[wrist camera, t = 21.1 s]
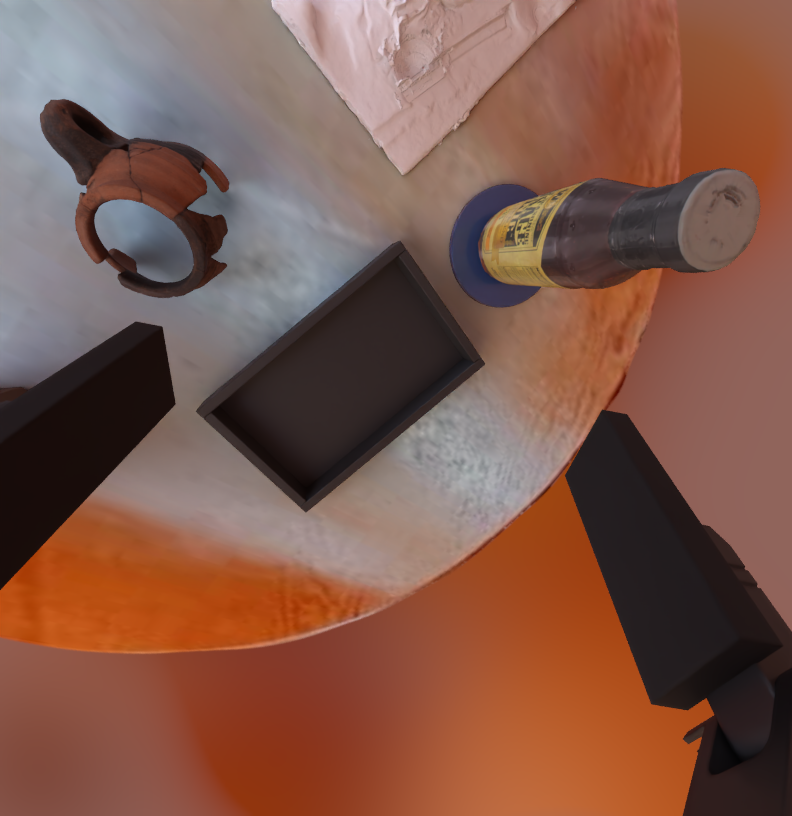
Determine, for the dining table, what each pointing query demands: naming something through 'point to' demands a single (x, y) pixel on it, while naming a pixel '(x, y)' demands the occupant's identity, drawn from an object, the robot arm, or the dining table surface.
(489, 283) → the coaster
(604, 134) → the dining table surface
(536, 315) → the dining table surface
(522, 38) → the terrain model
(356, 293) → the tray
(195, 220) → the brown broken pot
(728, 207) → the sauce bottle
